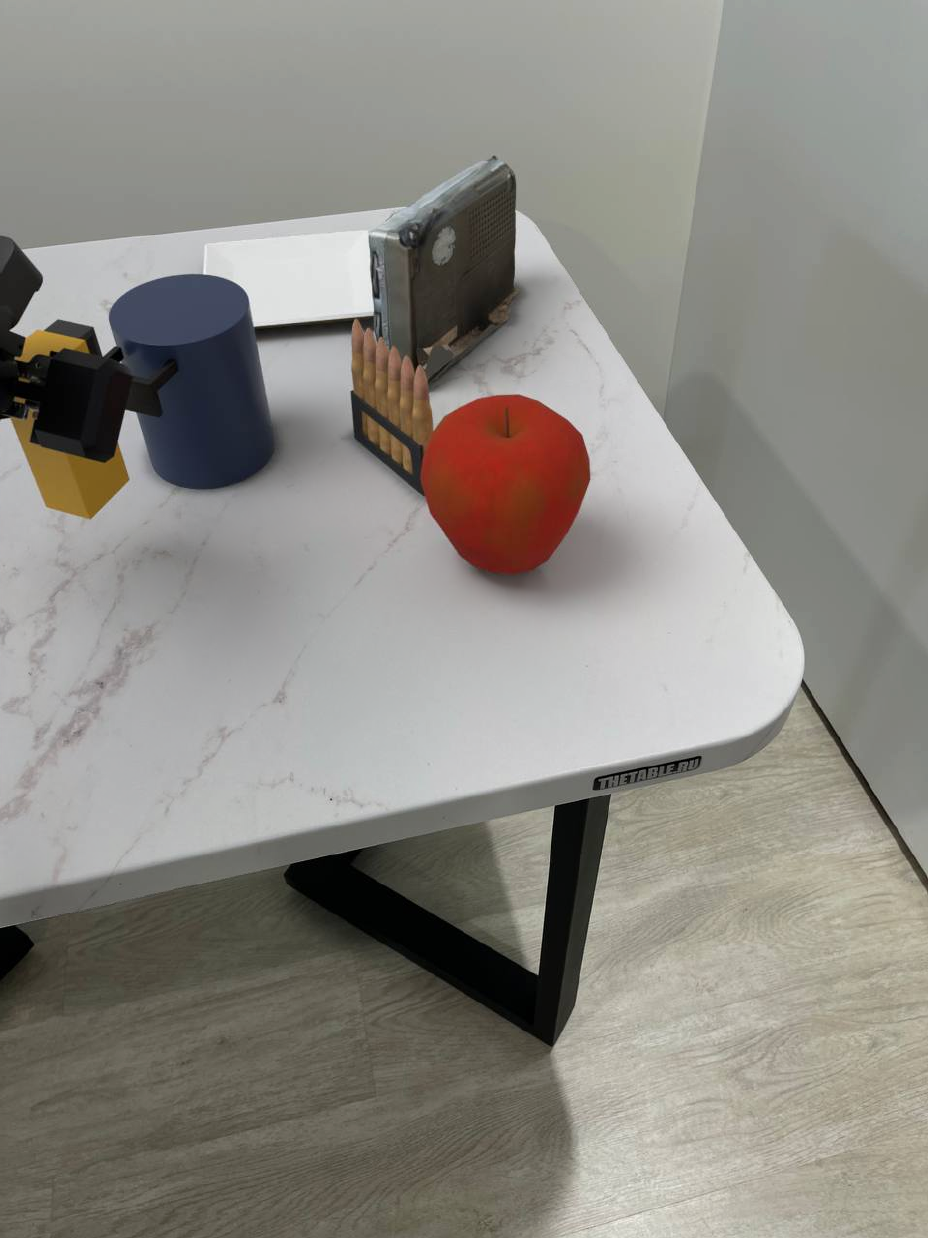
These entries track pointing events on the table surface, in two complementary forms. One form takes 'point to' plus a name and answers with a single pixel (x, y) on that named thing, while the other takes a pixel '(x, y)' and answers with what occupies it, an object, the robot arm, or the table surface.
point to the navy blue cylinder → (194, 378)
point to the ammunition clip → (390, 406)
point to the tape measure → (57, 473)
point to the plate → (298, 276)
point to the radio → (446, 267)
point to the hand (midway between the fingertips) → (74, 410)
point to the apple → (505, 481)
